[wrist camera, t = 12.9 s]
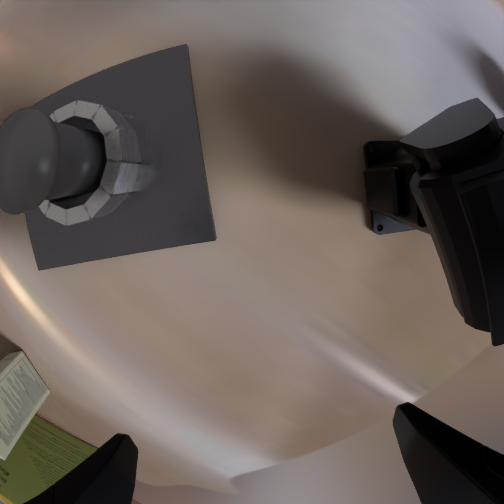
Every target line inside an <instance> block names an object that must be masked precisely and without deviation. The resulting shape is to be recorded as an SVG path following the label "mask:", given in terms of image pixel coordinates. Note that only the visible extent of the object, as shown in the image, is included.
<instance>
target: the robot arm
mask: <svg viewBox="0 0 504 504" xmlns="http://www.w3.org/2000/svg"><path fill="white" fill-rule="evenodd" d="M370 145H371V146H372V147H373V151H372V152H371V151H370V150H369V146H370ZM364 155H365V163H366V170H365V171H364V178H365V187H366V197H367V207H368V208H369V209H370V210H371V224H372V230H373V232H374V233H376V234H378V235H382V234H389V233H395V232H402V231H409V230H415V229H417V230H420V231H423V232H425V233H428V234H431V237H432V239H433V242H434V245H435V247H436V250H437V253H438V255H439V258H440V261H441V264H442V267H443V270H444V272H445V276H446V279H447V282H448V285H449V288H450V292H451V295H452V298H453V302H454V305H455V307H456V308H457V310H458V311H459V313H460V314H461V316H462V317H464V321H465V323H466V324H468V325H470V326H471V327H473V328H475V329H478V330H482V331H486V332H491V340H492V345H493V346H498V345H502V344H504V117H503V118H499V119H496V117H495V115H494V113H493V112H492V111H491V110H490V109H489V108H488V107H487V106H486V105H485V104H484V103H483V102H482V101H480V100H479V99H478V98H474V99H471V100H468V101H465V102H462V103H460V104H457V105H454V106H451V107H449V108H448V109H446V110H444V111H443V112H441V113H440V114H438V115H437V116H435V117H434V118H432V119H431V120H429V121H428V122H426V123H425V124H423V125H422V126H420V127H419V128H417V129H415V130H414V131H412V132H411V133H409V134H408V135H406V136H405V137H403V138H402V139H400V140H399V141H370V142H366V143H365V145H364ZM379 224H380V225H381V228H380V230H377V226H378V225H379ZM393 427H394V430H395V434H396V437H397V440H398V444H399V447H400V450H401V454H402V457H403V460H404V463H405V465H406V468H407V470H408V472H409V475H410V477H411V479H412V482H413V484H414V486H415V489H416V491H417V494H418V496H419V498H420V501H421V503H422V504H504V455H503V454H501V453H499V452H497V451H495V450H493V449H491V448H489V447H487V446H485V445H484V446H483V444H481V443H479V442H477V441H475V440H474V439H472V438H470V437H468V436H466V435H465V434H463V433H461V432H459V431H458V430H456V429H454V428H452V427H450V426H449V425H447V424H445V423H443V422H442V421H440V420H438V419H436V418H435V417H433V416H431V415H429V414H428V413H426V412H425V411H423V410H421V409H419V408H418V407H416V406H415V405H413V404H411V403H409V402H406V403H403V404H400V405H398V406H397V407H396V410H395V414H394V418H393ZM137 460H138V449H137V447H136V445H135V444H134V442H133V441H132V439H131V438H130V436H129V435H127V434H121V433H118V434H116V435H114V436H113V437H112V438H111V439H109V440H108V441H107V442H106V443H105V444H103V445H102V446H101V447H100V448H99V449H97V450H96V451H95V452H94V453H92V454H91V455H90V456H89V457H87V458H86V459H85V460H84V461H82V462H81V463H80V464H79V465H77V466H76V467H75V468H74V469H72V470H71V471H70V472H69V473H67V474H66V475H65V476H63V477H62V478H61V479H59V480H58V481H57V482H55V483H54V484H53V485H51V486H50V487H49V488H47V489H46V490H44V491H43V492H42V493H40V494H39V495H37V496H35V497H34V498H32V499H30V500H28V501H27V502H25V503H23V504H131V502H132V498H133V493H134V488H135V480H136V469H137Z"/></svg>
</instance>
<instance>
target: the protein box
mask: <svg viewBox="0 0 504 504" xmlns="http://www.w3.org/2000/svg"><path fill="white" fill-rule="evenodd" d="M97 449H98V448H95V447H93V446H91V445H89V444H87V443H85V442H83V441H81V440H79V439H77V438H75V437H73V436H71V435H69V434H67V433H66V432H64V431H62V430H60V429H59V428H57V427H55V426H53V425H52V424H50V423H48V422H47V421H45V420H43V419H42V418H40V417H38V416H37V415H34V416H33V418H32V419H31V421H30V422H29V424H28V425H27V427H26V428H25V430H24V431H23V433H22V434H21V436H20V437H19V439H18V440H17V442H16V444H15V445H14V447H13V448H12V450H11V452H10V453H9V455H8V456H7V458H6V460H3V459H1V458H0V500H1V501H3V502H4V503H5V504H23V503H25V502H27V501H28V500H30V499H32V498H34V497H35V496H37V495H39V494H40V493H42V492H43V491H44V490H46V489H47V488H49V487H50V486H51V485H53V484H54V483H55V482H57V481H58V480H59V479H61V478H62V477H63V476H65V475H66V474H67V473H69V472H70V471H71V470H72V469H74V468H75V467H76V466H77V465H79V464H80V463H81V462H82V461H84V460H85V459H86V458H87V457H89V456H90V455H91V454H92V453H94V452H95V451H96V450H97Z"/></svg>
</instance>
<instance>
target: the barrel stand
mask: <svg viewBox="0 0 504 504" xmlns="http://www.w3.org/2000/svg"><path fill="white" fill-rule="evenodd" d="M30 109H35V110H39V111H42V112H45V113H46V114H48V115H49V116H50V117H51V119H52V120H53V121H54V122H58V123H62V124H67V125H71V126H76V127H80V128H84V129H88V130H92V131H96V132H100V133H102V134H103V135H104V139H105V148H106V156H107V163H106V166H105V170H104V173H103V176H102V180H101V183H100V187H99V188H98V189H97V190H96V191H95V192H93V193H87V194H80V195H73V196H67V197H61V198H55V199H49V200H44V201H43V202H42V203H41V204H40V205H39V206H38V207H37V208H35V209H33V210H31V211H28V212H25V214H26V219H27V224H28V229H29V234H30V239H31V243H32V247H33V251H34V255H35V259H36V263H37V266H38V270H45V269H50V268H55V267H61V266H66V265H72V264H77V263H83V262H89V261H94V260H100V259H106V258H111V257H117V256H123V255H129V254H135V253H141V252H147V251H153V250H159V249H165V248H171V247H177V246H183V245H189V244H196V243H202V242H208V241H215V240H216V239H217V237H216V232H215V226H214V220H213V215H212V209H211V203H210V197H209V191H208V185H207V179H206V172H205V166H204V160H203V153H202V147H201V140H200V133H199V126H198V119H197V112H196V105H195V98H194V90H193V82H192V74H191V66H190V58H189V49H188V46H187V44H184V45H180V46H176V47H172V48H168V49H165V50H161V51H158V52H154V53H151V54H148V55H145V56H141V57H138V58H135V59H132V60H130V61H127V62H124V63H121V64H118V65H116V66H113V67H111V68H108V69H106V70H103V71H101V72H98V73H96V74H94V75H91V76H89V77H87V78H85V79H82V80H80V81H78V82H76V83H74V84H72V85H70V86H68V87H66V88H64V89H62V90H60V91H58V92H56V93H54V94H52V95H51V96H49V97H47V98H45V99H43V100H42V101H40V102H38V103H37V104H35V105H33V106H32V107H30Z"/></svg>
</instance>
